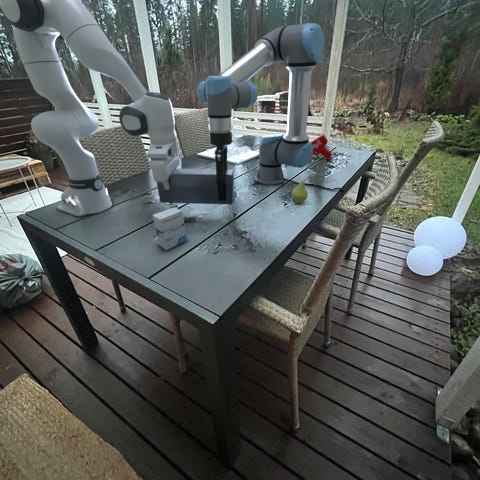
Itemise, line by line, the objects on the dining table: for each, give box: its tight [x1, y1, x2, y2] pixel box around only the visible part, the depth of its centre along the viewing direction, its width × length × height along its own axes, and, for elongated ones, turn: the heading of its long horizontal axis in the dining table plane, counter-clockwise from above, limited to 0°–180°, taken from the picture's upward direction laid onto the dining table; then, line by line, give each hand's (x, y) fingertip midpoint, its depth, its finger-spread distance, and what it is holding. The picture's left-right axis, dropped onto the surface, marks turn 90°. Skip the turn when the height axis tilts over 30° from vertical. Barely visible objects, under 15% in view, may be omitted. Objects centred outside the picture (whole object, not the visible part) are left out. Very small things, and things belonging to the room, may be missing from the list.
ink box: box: [152, 206, 187, 251], centre depth 91 cm, size 8×5×12 cm, turn 135°
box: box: [156, 168, 235, 205], centre depth 100 cm, size 27×6×11 cm, turn 87°
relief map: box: [196, 141, 259, 166], centre depth 184 cm, size 27×35×5 cm
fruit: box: [291, 174, 311, 204], centre depth 118 cm, size 7×8×12 cm
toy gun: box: [309, 133, 333, 161], centre depth 176 cm, size 18×4×15 cm
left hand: (170, 185), depth 100 cm, fingers closed on box, 6 cm apart
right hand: (223, 196), depth 101 cm, fingers closed on box, 6 cm apart
